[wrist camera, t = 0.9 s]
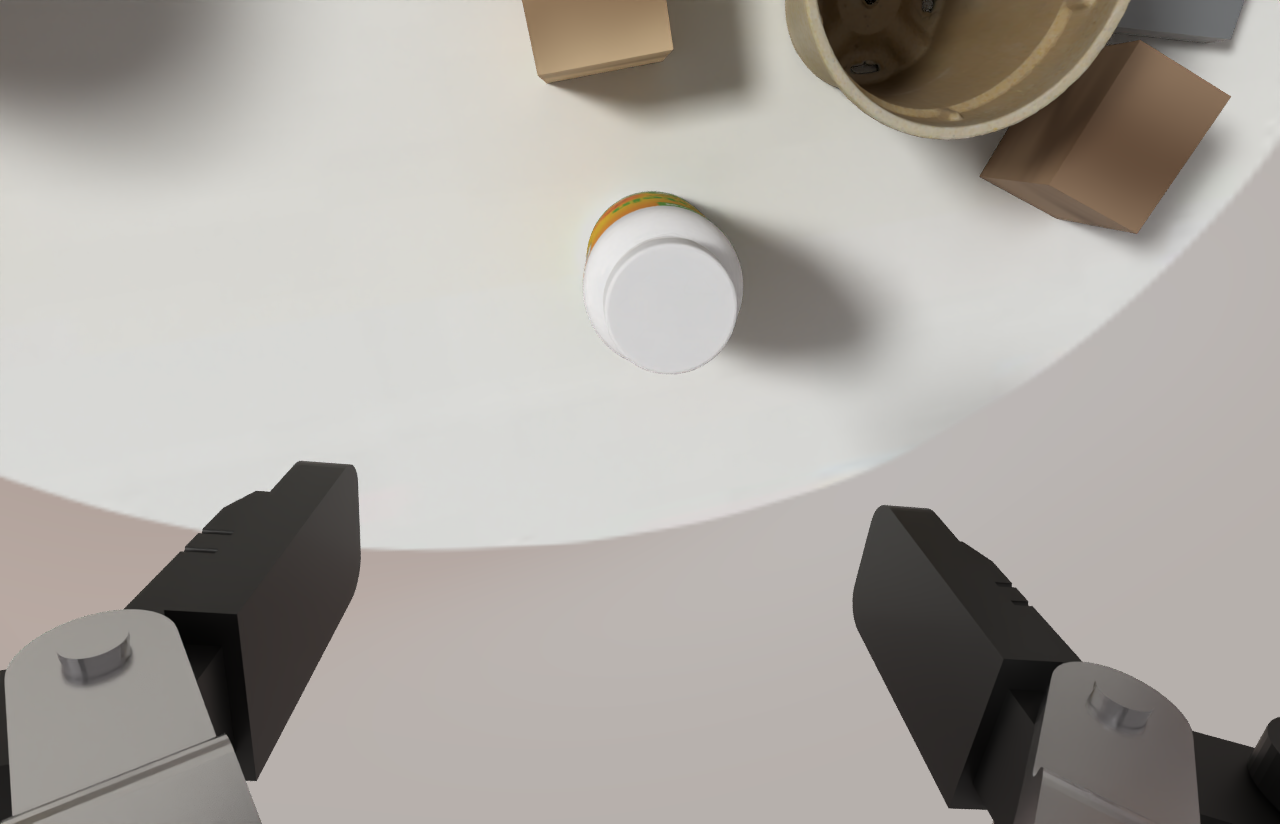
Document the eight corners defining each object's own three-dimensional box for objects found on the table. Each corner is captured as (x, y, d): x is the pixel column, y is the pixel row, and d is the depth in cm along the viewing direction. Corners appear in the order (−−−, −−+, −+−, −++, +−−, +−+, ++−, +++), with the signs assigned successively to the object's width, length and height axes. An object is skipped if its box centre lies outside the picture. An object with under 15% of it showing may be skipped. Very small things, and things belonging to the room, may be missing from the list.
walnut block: (1051, 55, 28) (1140, 40, 24) (1129, 101, 29) (1231, 96, 24) (978, 176, 30) (1048, 184, 25) (1055, 218, 30) (1137, 233, 26)
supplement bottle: (716, 188, 29) (767, 215, 20) (712, 318, 31) (758, 394, 22) (583, 190, 29) (576, 218, 20) (588, 320, 31) (583, 399, 22)
